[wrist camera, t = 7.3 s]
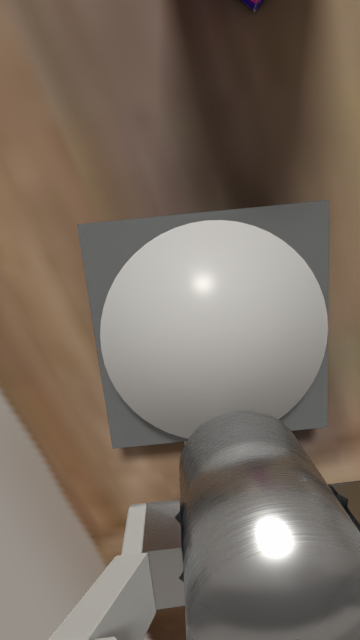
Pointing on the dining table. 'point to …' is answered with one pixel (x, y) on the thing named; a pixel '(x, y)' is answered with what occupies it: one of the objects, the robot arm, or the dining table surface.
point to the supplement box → (252, 4)
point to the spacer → (263, 537)
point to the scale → (210, 318)
